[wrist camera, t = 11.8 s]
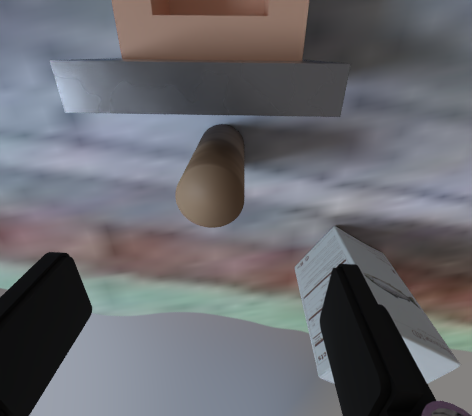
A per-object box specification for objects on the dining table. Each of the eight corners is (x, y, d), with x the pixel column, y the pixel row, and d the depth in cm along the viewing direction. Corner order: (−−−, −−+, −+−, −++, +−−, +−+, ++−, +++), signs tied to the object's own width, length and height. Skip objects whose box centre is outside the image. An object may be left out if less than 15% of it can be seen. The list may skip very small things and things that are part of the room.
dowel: (201, 167, 25) (179, 226, 16) (199, 124, 23) (171, 166, 14) (243, 168, 25) (243, 228, 16) (244, 124, 23) (245, 167, 14)
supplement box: (384, 251, 29) (467, 367, 19) (338, 290, 33) (386, 408, 22) (334, 222, 28) (393, 331, 17) (291, 266, 31) (317, 381, 20)
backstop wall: (148, 85, 21) (65, 112, 12) (144, 57, 20) (49, 60, 11) (295, 87, 21) (340, 116, 11) (298, 59, 20) (350, 63, 10)
